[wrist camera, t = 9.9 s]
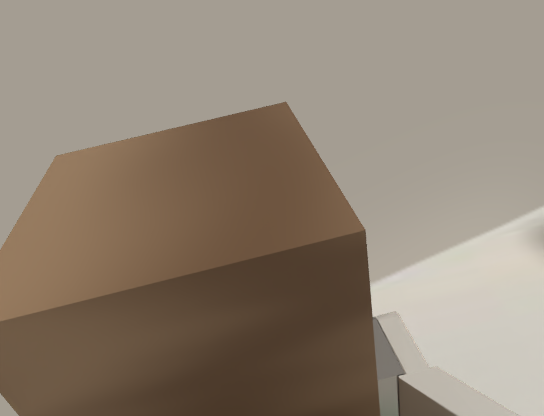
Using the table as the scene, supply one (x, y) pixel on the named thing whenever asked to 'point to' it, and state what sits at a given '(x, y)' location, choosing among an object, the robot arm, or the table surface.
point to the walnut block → (189, 280)
